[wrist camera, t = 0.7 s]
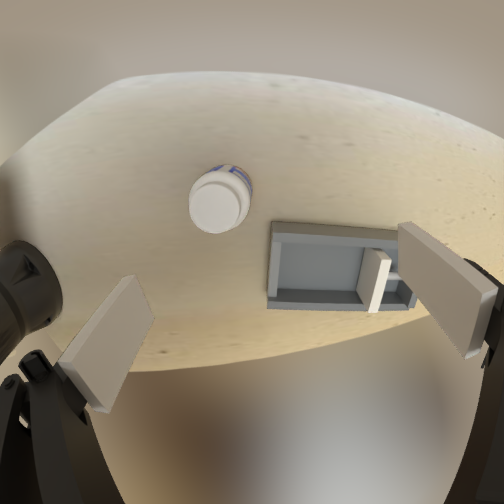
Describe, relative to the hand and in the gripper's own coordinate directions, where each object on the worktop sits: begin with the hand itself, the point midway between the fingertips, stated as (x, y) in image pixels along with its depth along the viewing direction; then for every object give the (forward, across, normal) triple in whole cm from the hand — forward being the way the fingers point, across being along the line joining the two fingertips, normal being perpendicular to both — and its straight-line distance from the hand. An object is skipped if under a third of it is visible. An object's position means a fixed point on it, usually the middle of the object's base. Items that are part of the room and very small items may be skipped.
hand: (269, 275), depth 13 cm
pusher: (+18, +12, -11) cm, 24 cm away
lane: (+19, +8, -10) cm, 23 cm away
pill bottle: (+19, -4, +2) cm, 20 cm away
